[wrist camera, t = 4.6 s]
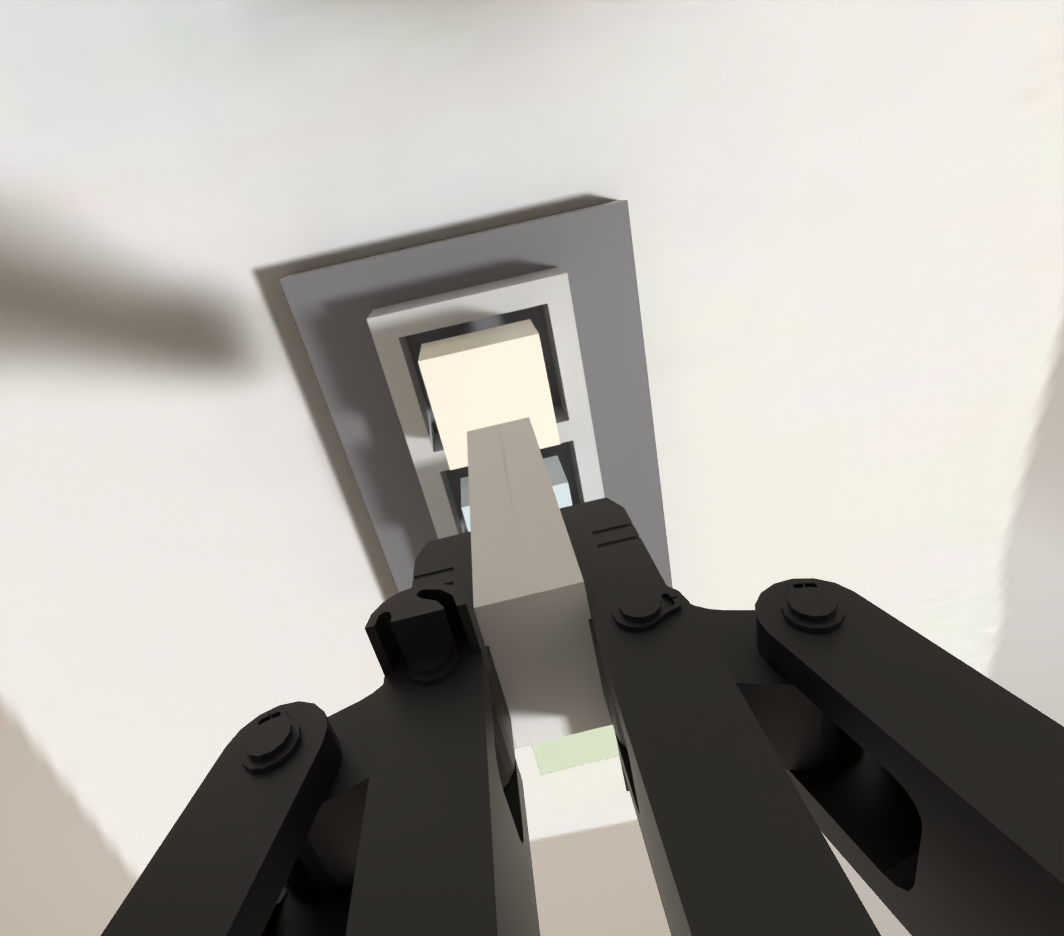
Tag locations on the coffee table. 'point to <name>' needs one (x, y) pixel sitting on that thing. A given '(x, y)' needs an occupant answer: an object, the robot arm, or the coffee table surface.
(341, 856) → the robot arm
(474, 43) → the coffee table surface
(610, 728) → the key sage
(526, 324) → the key ivory
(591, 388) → the keypad
